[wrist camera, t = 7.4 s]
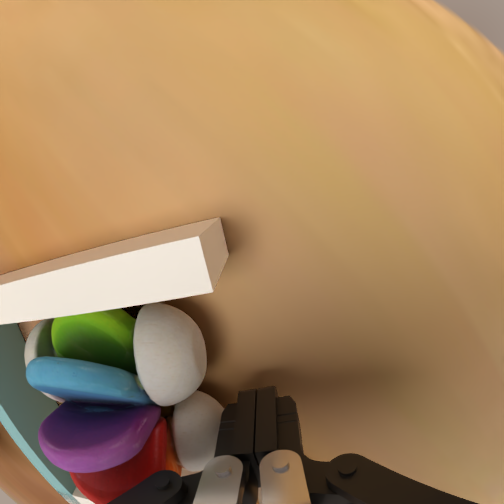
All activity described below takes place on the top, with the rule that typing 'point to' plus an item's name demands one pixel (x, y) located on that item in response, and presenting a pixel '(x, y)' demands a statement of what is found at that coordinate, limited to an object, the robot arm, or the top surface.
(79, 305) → the bay
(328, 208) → the top surface
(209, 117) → the top surface
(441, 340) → the top surface
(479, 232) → the top surface
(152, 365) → the multicoloured petal flower toy
